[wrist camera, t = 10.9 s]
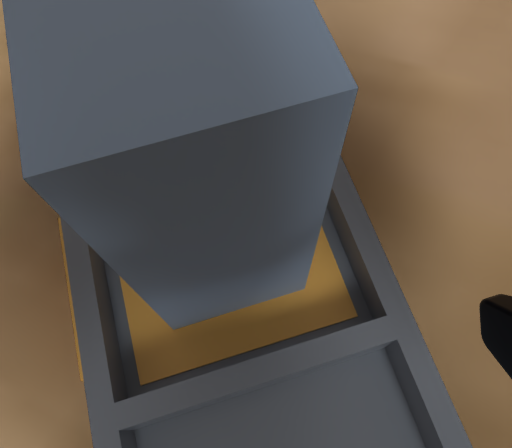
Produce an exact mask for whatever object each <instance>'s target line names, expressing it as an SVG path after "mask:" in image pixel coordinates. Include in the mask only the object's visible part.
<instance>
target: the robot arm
mask: <svg viewBox="0 0 512 448" xmlns="http://www.w3.org/2000/svg"><path fill="white" fill-rule="evenodd" d="M480 323H481V335H482V339H483V341H484V343H485V345H486V347H487V348H488V349H489V351H490V352H491V353H492V354H493V356H494V357H495V358H496V360H497V361H498V362H499V363H500V365H501V366H502V367H503V369H504V370H505V371H506V372H507V374H508V375H509V376H510V378H511V379H512V296H508V295H504V294H498V295H495V296H492V297H489V298H486V299H483V300H482V301H481V303H480Z"/></svg>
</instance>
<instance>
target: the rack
mask: <svg viewBox="0 0 512 448" xmlns="http://www.w3.org/2000/svg"><path fill="white" fill-rule="evenodd" d="M58 224H59V231H60V238H61V245H62V252H63V259H64V267H65V274H66V281H67V288H68V295H69V302H70V309H71V316H72V323H73V330H74V337H75V344H76V351H77V358H78V366H79V373H80V380H81V381H82V382H84V386H85V393H86V400H87V406H88V413H89V420H90V427H91V434H92V441H93V448H473V447H472V445H471V443H470V441H469V438H468V436H467V434H466V432H465V430H464V427H463V425H462V423H461V421H460V419H459V416H458V414H457V412H456V410H455V407H454V405H453V403H452V401H451V399H450V396H449V394H448V392H447V390H446V388H445V385H444V383H443V381H442V379H441V376H440V374H439V372H438V370H437V368H436V365H435V363H434V361H433V359H432V356H431V354H430V352H429V350H428V348H427V345H426V343H425V341H424V339H423V337H422V334H421V332H420V330H419V328H418V325H417V323H416V321H415V319H414V317H413V314H412V312H411V310H410V308H409V306H408V303H407V301H406V299H405V297H404V294H403V292H402V290H401V288H400V286H399V283H398V281H397V279H396V277H395V275H394V272H393V270H392V268H391V266H390V263H389V261H388V259H387V257H386V255H385V252H384V250H383V248H382V246H381V244H380V241H379V239H378V237H377V235H376V232H375V230H374V228H373V226H372V224H371V221H370V219H369V217H368V215H367V212H366V210H365V208H364V206H363V204H362V201H361V199H360V197H359V195H358V193H357V190H356V188H355V186H354V184H353V181H352V179H351V177H350V175H349V173H348V170H347V168H346V166H345V164H344V162H343V159H342V157H341V155H340V158H339V162H338V166H337V170H336V173H335V177H334V181H333V185H332V188H331V192H330V196H329V200H328V203H327V207H326V211H325V215H324V218H323V222H322V226H321V230H320V233H319V237H318V241H317V245H316V248H315V252H314V256H313V260H312V263H311V267H310V271H309V275H308V278H307V282H306V286H305V289H303V290H299V291H296V292H293V293H290V294H287V295H284V296H280V297H277V298H274V299H271V300H268V301H264V302H261V303H258V304H255V305H252V306H248V307H245V308H242V309H239V310H236V311H233V312H229V313H226V314H223V315H220V316H217V317H213V318H210V319H207V320H204V321H201V322H197V323H194V324H191V325H188V326H185V327H182V328H178V329H175V330H173V329H172V328H171V327H170V326H169V325H168V324H167V323H166V322H165V321H164V320H163V319H162V318H161V317H160V316H159V315H158V314H157V313H156V312H155V311H154V310H153V309H152V308H151V307H150V306H149V305H148V304H147V303H146V302H145V301H144V300H143V299H142V298H141V297H140V296H139V295H138V294H137V293H136V292H135V291H134V290H133V289H132V288H131V287H130V286H129V285H128V284H127V283H126V282H125V281H124V280H123V279H122V278H121V277H120V276H119V275H118V274H117V273H116V272H115V271H114V270H113V269H112V268H111V267H110V266H109V265H108V264H107V263H106V262H105V261H104V260H103V259H102V258H101V257H100V256H99V255H98V254H97V253H96V252H95V251H94V250H93V249H92V247H91V246H90V245H89V244H88V243H87V242H86V241H85V240H84V239H83V238H82V237H81V236H80V235H79V234H78V233H77V232H76V231H75V230H74V229H73V228H72V227H71V226H70V225H69V224H68V223H67V222H66V221H65V220H64V219H63V218H62V217H61V216H60V217H59V218H58Z"/></svg>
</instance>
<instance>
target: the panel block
mask: <svg viewBox="0 0 512 448" xmlns="http://www.w3.org/2000/svg"><path fill="white" fill-rule="evenodd" d="M2 3H3V12H4V20H5V29H6V38H7V46H8V55H9V63H10V72H11V80H12V89H13V97H14V106H15V115H16V123H17V132H18V140H19V149H20V157H21V166H22V174H23V179H24V180H25V181H26V182H27V183H28V184H29V185H30V186H31V187H32V188H33V189H34V190H35V191H36V192H37V193H38V194H39V195H40V196H41V197H42V198H43V199H44V200H45V201H46V202H47V203H48V204H49V205H50V206H51V207H52V208H53V209H54V210H55V211H56V212H57V213H58V214H59V215H60V216H61V217H62V218H63V219H64V220H65V221H66V222H67V223H68V224H69V225H70V226H71V227H72V228H73V229H74V230H75V231H76V232H77V233H78V234H79V235H80V236H81V237H82V238H83V239H84V240H85V241H86V242H87V243H88V244H89V245H90V246H91V247H92V249H93V250H94V251H95V252H96V253H97V254H98V255H99V256H100V257H101V258H102V259H103V260H104V261H105V262H106V263H107V264H108V265H109V266H110V267H111V268H112V269H113V270H114V271H115V272H116V273H117V274H118V275H119V276H120V277H121V278H122V279H123V280H124V281H125V282H126V283H127V284H128V285H129V286H130V287H131V288H132V289H133V290H134V291H135V292H136V293H137V294H138V295H139V296H140V297H141V298H142V299H143V300H144V301H145V302H146V303H147V304H148V305H149V306H150V307H151V308H152V309H153V310H154V311H155V312H156V313H157V314H158V315H159V316H160V317H161V318H162V319H163V320H164V321H165V322H166V323H167V324H168V325H169V326H170V327H171V328H172V329H173V330H175V329H178V328H182V327H185V326H188V325H191V324H194V323H197V322H201V321H204V320H207V319H210V318H213V317H217V316H220V315H223V314H226V313H229V312H233V311H236V310H239V309H242V308H245V307H248V306H252V305H255V304H258V303H261V302H264V301H268V300H271V299H274V298H277V297H280V296H284V295H287V294H290V293H293V292H296V291H299V290H303V289H305V286H306V282H307V278H308V275H309V271H310V267H311V263H312V260H313V256H314V252H315V248H316V245H317V241H318V237H319V233H320V230H321V226H322V222H323V218H324V215H325V211H326V207H327V203H328V200H329V196H330V192H331V188H332V185H333V181H334V177H335V173H336V170H337V166H338V162H339V158H340V154H341V151H342V147H343V143H344V139H345V136H346V132H347V128H348V124H349V121H350V117H351V113H352V109H353V106H354V102H355V98H356V94H357V91H358V86H357V84H356V82H355V80H354V78H353V76H352V75H351V73H350V71H349V69H348V67H347V65H346V63H345V61H344V59H343V57H342V55H341V53H340V51H339V49H338V47H337V45H336V43H335V41H334V39H333V37H332V36H331V34H330V32H329V30H328V28H327V26H326V24H325V22H324V20H323V18H322V16H321V14H320V12H319V10H318V8H317V6H316V4H315V2H314V0H2Z"/></svg>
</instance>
